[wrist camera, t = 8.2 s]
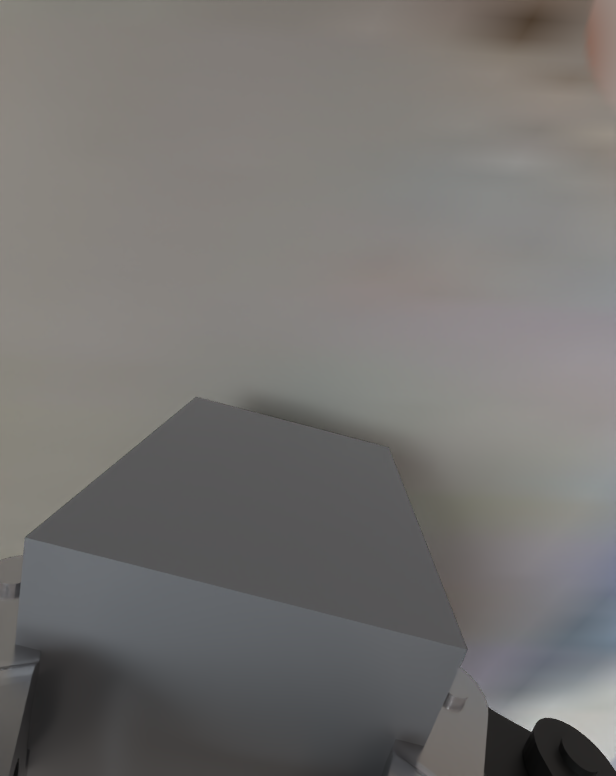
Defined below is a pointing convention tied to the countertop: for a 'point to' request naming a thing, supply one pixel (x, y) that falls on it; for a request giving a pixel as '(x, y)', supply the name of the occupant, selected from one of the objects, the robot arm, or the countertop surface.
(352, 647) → the matte grey cube
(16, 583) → the robot arm
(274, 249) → the countertop surface
